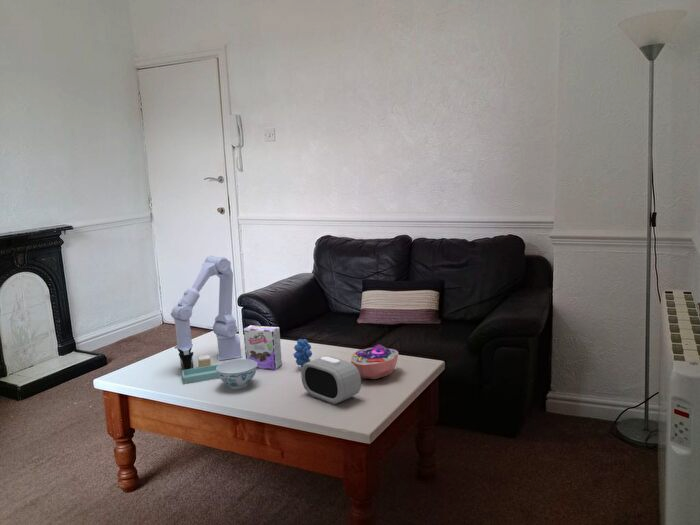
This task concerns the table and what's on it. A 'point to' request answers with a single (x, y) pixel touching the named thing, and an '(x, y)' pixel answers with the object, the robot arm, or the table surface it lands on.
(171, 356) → the table surface
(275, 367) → the candy box
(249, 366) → the chinaware
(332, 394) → the alarm clock
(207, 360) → the carton
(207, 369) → the tray
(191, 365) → the tin
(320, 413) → the table surface
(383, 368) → the cell model
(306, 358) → the grapes
